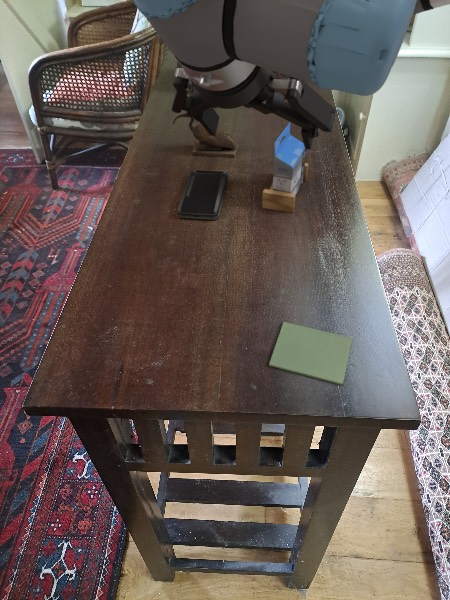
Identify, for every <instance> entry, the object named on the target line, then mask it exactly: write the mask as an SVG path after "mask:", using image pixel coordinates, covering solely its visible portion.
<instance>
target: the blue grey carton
mask: <svg viewBox="0 0 450 600" xmlns="http://www.w3.org/2000/svg"><path fill="white" fill-rule="evenodd" d="M283 138H284V139H283ZM273 147H274V148H273V149H274V162H273V175H272V176H273V177H272V183H273V190H274V191H280V192H286V193H292V194H296V195H297V194H298V193H299V190H301V187H302V185H303V183H304V181H303V176H304V167H305V163H306V156H307V149H305V146H304V142H303V141H301V140H299V139H298V138H296V137H295V136H293V135H291V122H289V121H288V124H287V125H286V126H285V128H284V129H283V130H282V131H281V133H280V135H279V136H277V139H276V140H275V141H274V143H273Z"/></svg>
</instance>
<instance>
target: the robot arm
mask: <svg viewBox="0 0 450 600" xmlns="http://www.w3.org/2000/svg"><path fill="white" fill-rule="evenodd" d="M133 3H134V5H135V6H136V9H137V10H138V11H139V12H140V14H141V15H143V16H144V18H145V19H146V21H148V23H149V24H150V25H151V27H152V28H153V30H154V31H155V32H156V34H157V35H158V36H159V38H160V39H161V40H162V42H163V43H164V45H165V46H166V47H167V49H168V50H169V51H170V53H171V54H172V55H173V57H174V58H175V59H176V61H177V62H176V66H175V67H176V68H175V73H174V77H173V82H172V85H173V88H174V89H175V90H174V96H173V100H172V106H171V112H172V113H175V114H182V111H184V112H186V114H187V115H189V116H191V117H192V116H193V118H194V121H196V122H198V123H199V124H202V126H203V127H204V128H205V129H206V131H207V132H208V133H209V134H210V135H211V136H216V131H217V128H219V127H218V126H219V121H220V116H219V114H218V113H217V111H216V110H215V109H217V108H219V109H222V110H223V109H224V110H231V109H237V108H240V107H244V108H246V109H250V108H251V109H253V110H256V111H257V112H259V113H262V114H264V115H266V116H267V115H270V114H274V115H276V116H278V118H279V117H280V118H282V119H284V120H286V121H288V123H289V122H290V124H294V125H295V126H298V127H299V128H301V129H300V134H301V138H302V143H304V146H305V149H306V150H311V149H312V145H313V141H314V139H315V138H318V137H319V136H320V133H321V131H322V132H325V133H331V132H332V130H333V126H334V121H335V117H336V113H337V109H336V108H335V107H334V106H333V105H332V104H330V102H328V101H327V100H326V99H325V98H324V97H323V96H322V95H320V93H318V92H317V91H316V90H315V89H313V87H311V86H310V84H312V85H315V86H316V87H318V88H319V89H321V90H327V91H339V92H342V93H347V94H352V95H357V96H361V97H367V96H372V95H374V94H376V93H378V92H379V91H380V90H381V89H382V88H383V86H384V84H385V83H386V82H387V80H388V77H389V75H390V73H391V70H392V68H393V67H394V65H395V62H396V60H397V58H398V55H399V54H400V51H401V48H402V45H403V43H404V40H405V38H406V35H407V32H408V29H409V27H410V23H411V20H412V19H413V15H417V14H421V13H424V12H428V11H432V10H434V9H437V8H441V7H444V6H448V5H450V0H133ZM269 70H272V71H275V72H278V73H281V74H285V75H288V76H290V78H288V80H285V79H276V77H275V75H274V74H272V73H271V72H270V71H269ZM308 83H310V84H308ZM193 87H194V88H193ZM196 89H197V90H196ZM188 93H189V96H188ZM264 102H265V103H264ZM191 117H190V118H191Z"/></svg>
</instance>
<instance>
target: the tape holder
mask: <svg viewBox="0 0 450 600" xmlns="http://www.w3.org/2000/svg"><path fill="white" fill-rule="evenodd" d="M308 173H309V163H308V162H305V167H304V176H303V182H307V180H308V175H309V174H308ZM296 197H297V194H292V193H286V192H280V191H274V190H273V182H272V183H271V184H270V187H269V189H267V188H264V189H263V191H262V197H261V199H262V201H261V208H262V209H267V210H272V211H279V212H285V213H289V214H294V211H295V206H296Z"/></svg>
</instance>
